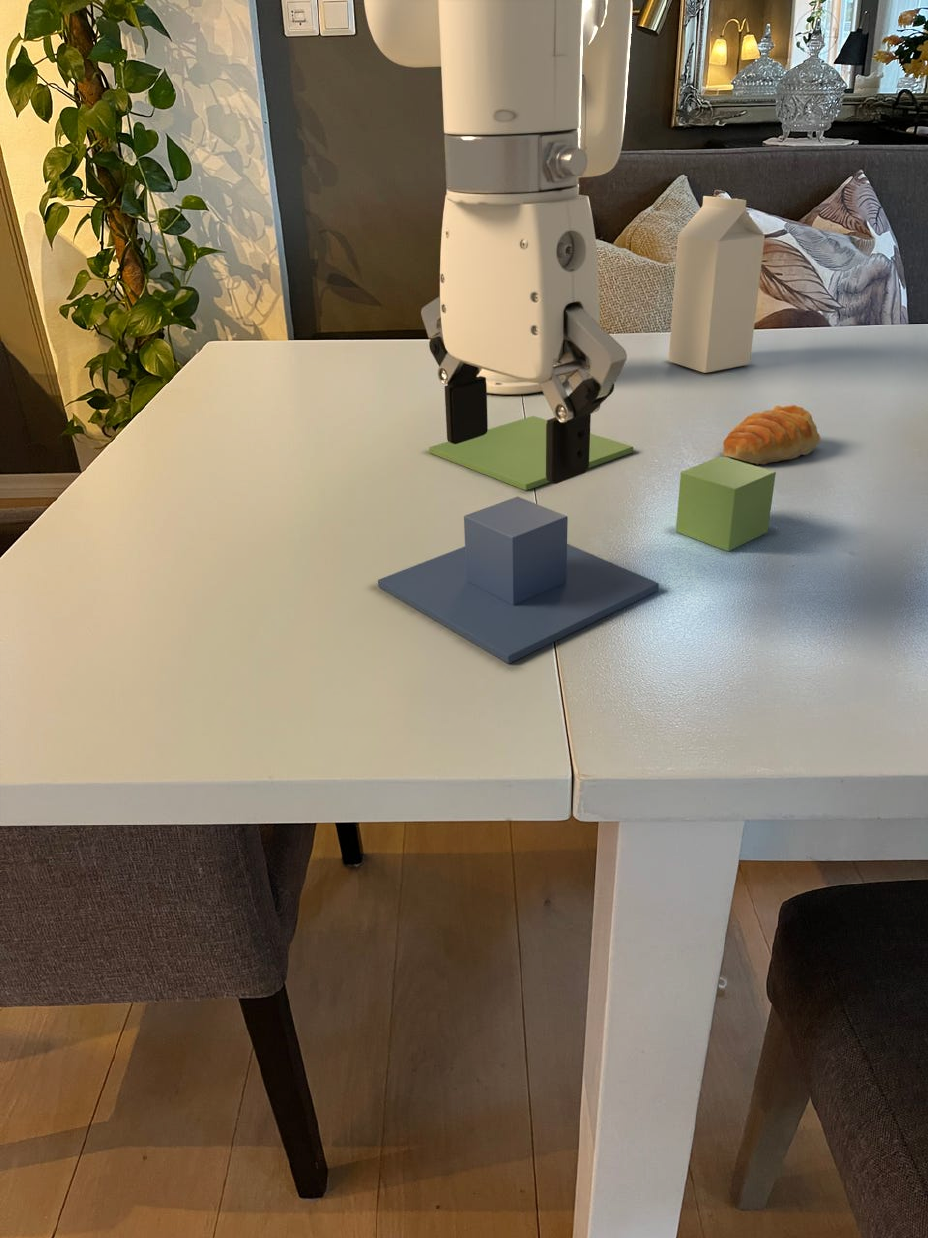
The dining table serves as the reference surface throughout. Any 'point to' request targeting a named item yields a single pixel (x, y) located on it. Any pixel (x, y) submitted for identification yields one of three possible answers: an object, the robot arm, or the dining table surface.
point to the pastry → (773, 436)
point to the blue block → (516, 549)
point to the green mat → (519, 452)
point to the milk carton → (716, 287)
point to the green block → (725, 502)
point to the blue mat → (528, 623)
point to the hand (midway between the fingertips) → (514, 456)
